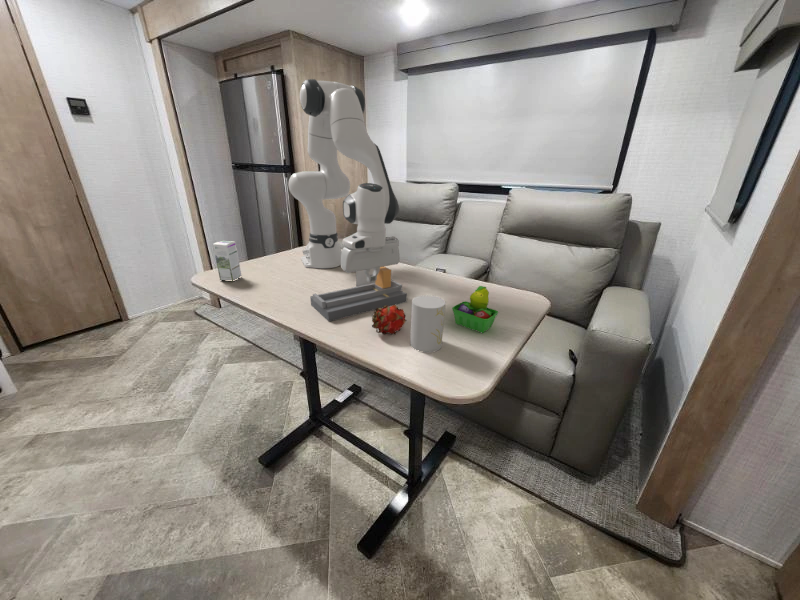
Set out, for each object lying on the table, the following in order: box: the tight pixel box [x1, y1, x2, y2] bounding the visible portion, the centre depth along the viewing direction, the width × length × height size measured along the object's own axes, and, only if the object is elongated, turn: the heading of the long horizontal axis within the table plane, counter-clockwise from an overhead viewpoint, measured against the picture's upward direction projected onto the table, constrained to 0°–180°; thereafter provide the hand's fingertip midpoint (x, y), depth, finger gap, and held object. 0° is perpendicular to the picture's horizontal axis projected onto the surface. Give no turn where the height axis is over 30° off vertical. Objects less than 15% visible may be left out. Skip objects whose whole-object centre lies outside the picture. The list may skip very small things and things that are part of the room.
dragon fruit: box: [371, 304, 407, 336], centre depth 88 cm, size 8×8×12 cm
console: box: [310, 278, 408, 322], centre depth 106 cm, size 14×29×5 cm, turn 125°
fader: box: [374, 266, 392, 290], centre depth 109 cm, size 5×4×7 cm
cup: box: [409, 294, 446, 353], centre depth 82 cm, size 8×8×12 cm
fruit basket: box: [451, 285, 499, 334], centre depth 93 cm, size 11×9×11 cm
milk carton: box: [355, 269, 375, 287], centre depth 120 cm, size 7×7×19 cm
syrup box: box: [212, 240, 243, 281], centre depth 122 cm, size 6×6×14 cm
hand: (371, 280), depth 107 cm, fingers closed
